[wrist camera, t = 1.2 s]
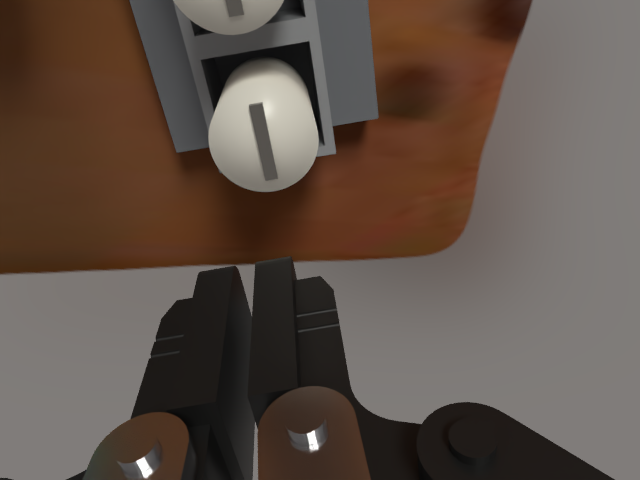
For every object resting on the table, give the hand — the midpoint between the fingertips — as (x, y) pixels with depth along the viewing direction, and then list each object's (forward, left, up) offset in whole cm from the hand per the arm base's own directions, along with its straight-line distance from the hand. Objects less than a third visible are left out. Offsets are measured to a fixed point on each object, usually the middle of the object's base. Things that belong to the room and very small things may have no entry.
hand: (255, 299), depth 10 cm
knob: (0, 0, -16) cm, 16 cm away
